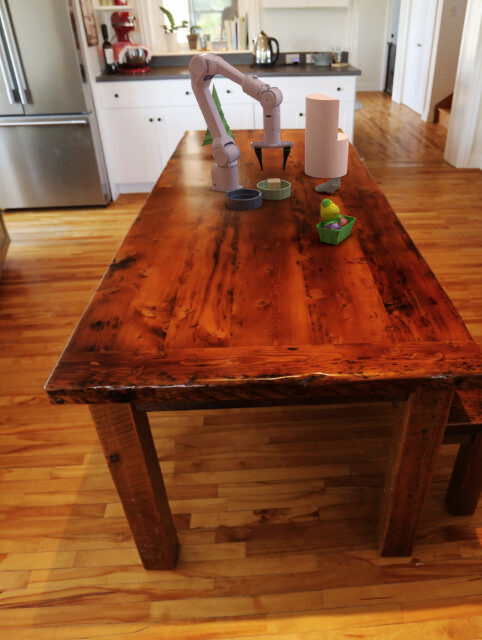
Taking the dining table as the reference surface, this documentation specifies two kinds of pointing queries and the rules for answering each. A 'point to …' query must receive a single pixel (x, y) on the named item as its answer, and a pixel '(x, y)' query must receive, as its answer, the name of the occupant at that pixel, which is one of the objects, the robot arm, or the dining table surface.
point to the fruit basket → (333, 223)
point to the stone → (329, 186)
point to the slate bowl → (243, 199)
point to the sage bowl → (274, 194)
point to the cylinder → (324, 138)
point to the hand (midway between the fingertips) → (272, 169)
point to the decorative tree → (208, 136)
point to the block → (274, 184)
